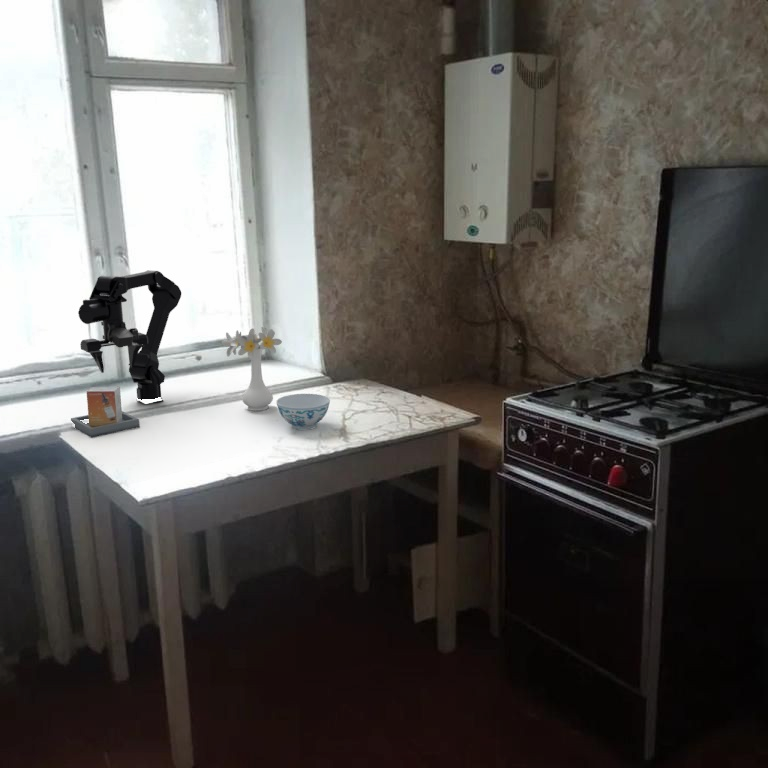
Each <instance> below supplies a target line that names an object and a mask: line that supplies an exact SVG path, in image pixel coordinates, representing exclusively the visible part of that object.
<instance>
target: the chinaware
mask: <svg viewBox="0 0 768 768" xmlns="http://www.w3.org/2000/svg"><path fill="white" fill-rule="evenodd" d="M330 401H331V400H330V398H329V397H328V396H326V395H323V394H318V393H296V394H288V395H285V396H282V397H279V398H278V399H277V400H276V406H277V409H278V413H279V414H280V415H281V417H282V419H283V420H285V422H286V423H288V424H290V425H291V427H292V429H294V430H297V429H298V430H299V431H309V430H313V429H315V428H316V427H317V426H316V425H317V424H318V423H320V421H322V420H323V418H324V417H325V416H326V414H327V412H328V410H329V406H330ZM312 428H313V429H312ZM308 429H309V430H308Z"/></svg>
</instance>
